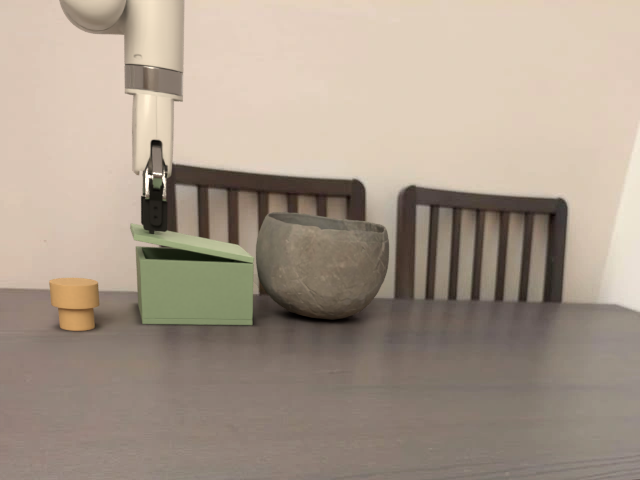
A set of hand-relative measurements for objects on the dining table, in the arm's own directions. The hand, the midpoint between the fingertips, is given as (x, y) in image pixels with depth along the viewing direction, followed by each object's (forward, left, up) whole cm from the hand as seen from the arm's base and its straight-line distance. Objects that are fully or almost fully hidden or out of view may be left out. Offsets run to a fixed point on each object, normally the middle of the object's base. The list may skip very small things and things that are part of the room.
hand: (153, 227), depth 104 cm
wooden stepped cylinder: (-6, -13, -12) cm, 19 cm away
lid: (+5, +2, -2) cm, 6 cm away
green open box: (+5, +2, -12) cm, 14 cm away
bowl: (+23, +10, -13) cm, 28 cm away
